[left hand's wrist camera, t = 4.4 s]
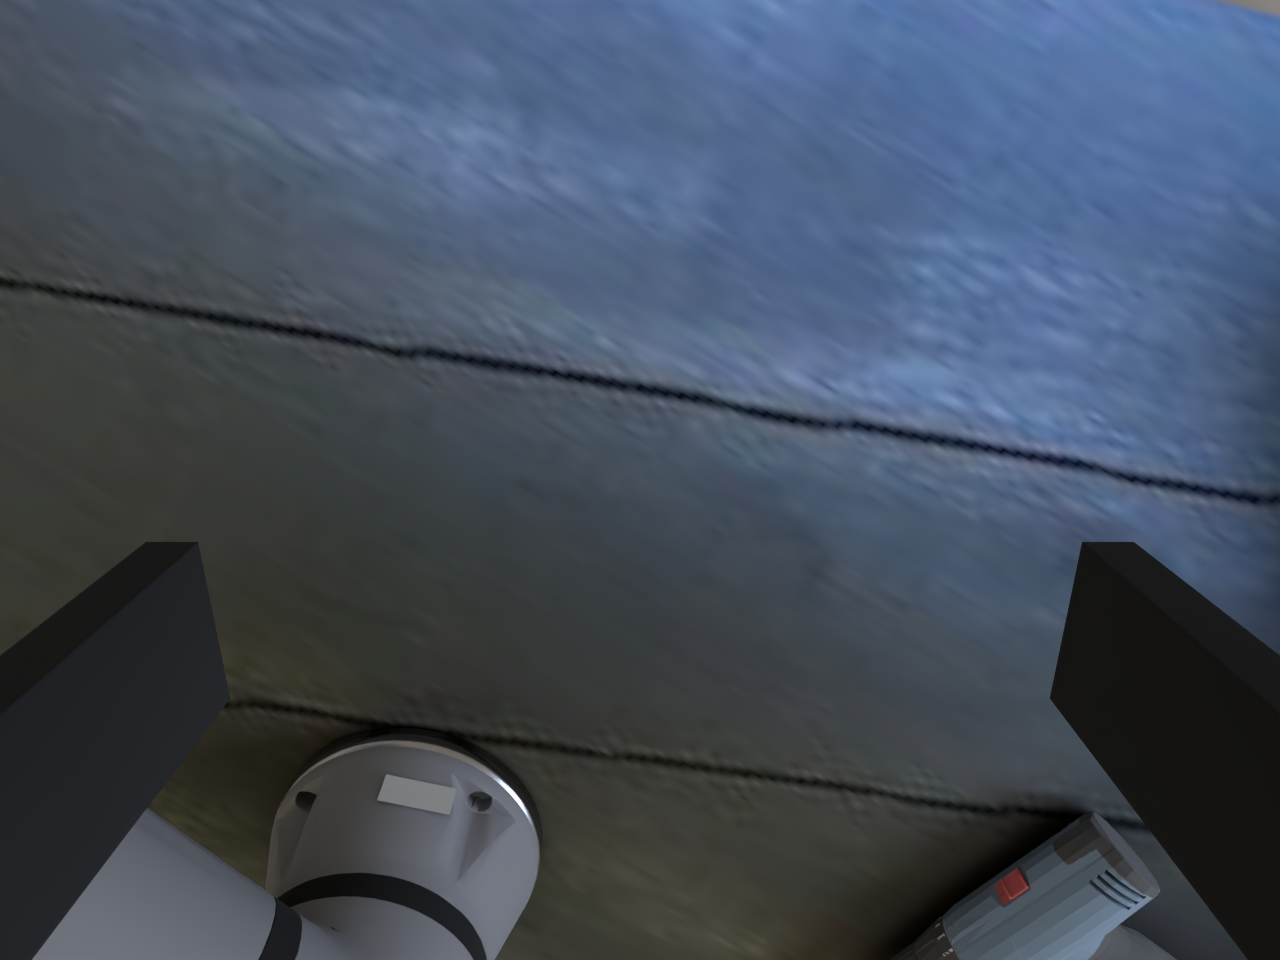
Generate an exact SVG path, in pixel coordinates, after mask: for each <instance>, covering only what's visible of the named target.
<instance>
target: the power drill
mask: <svg viewBox="0 0 1280 960" xmlns="http://www.w3.org/2000/svg"><path fill="white" fill-rule="evenodd" d="M1159 892H1160V888H1159V885H1158V883H1157V882H1156V880H1155V878H1154V877H1153V876H1152V874H1151V873H1150V872H1149V870H1148V869H1147V867H1146V866H1145V864H1144V863H1143V862H1142V861H1141V859H1140V858H1139V857H1138V856H1137V854H1136V853H1135V852H1134V851H1133V850H1132V849H1131V847H1130V846H1129V845H1128V844H1127V843H1126V842H1125V840H1124V839H1123V838H1122V837H1121V836H1120V835H1119V834H1118V833H1117V832H1116V831H1115V830H1114V829H1113V828H1112V827H1111V826H1110V825H1109V824H1108V822H1106V821H1105V820H1104V819H1103V818H1102V817H1101V816H1099V815H1098V814H1097V813H1096V812H1094V811H1090V812H1088V813H1086V814H1084V815H1082V816H1081V817H1079V818H1078V819H1077V820H1075V821H1074V822H1073V823H1071V824H1069V825H1068V826H1067V827H1066V828H1064V829H1062V830H1061V832H1059V833H1057V834H1055V835H1054V836H1052V837H1051V838H1050V839H1048V840H1047V841H1045V842H1044V843H1042V844H1041V845H1039V846H1038V847H1037V848H1035V849H1034V850H1032V851H1031V852H1029V853H1028V854H1027V855H1025V856H1024V857H1022V858H1021V859H1019V860H1018V861H1016V862H1015V863H1014V864H1012V865H1011V866H1009V867H1008V868H1006V869H1005V870H1003V871H1002V872H1001V873H999V874H998V875H996V876H995V877H993V878H992V879H991V880H989V881H988V882H986V883H985V884H983V885H982V886H980V887H979V888H978V889H976V890H975V891H973V892H972V893H970V894H969V895H967V896H966V897H965V898H963V899H962V900H960V901H959V902H957V903H956V904H955V905H953V906H952V907H951V908H950V909H949V910H948V911H947V912H946V913H945V914H944V915H943V916H942V917H940V918H939V919H937V920H936V921H935V922H934V923H933V924H932V925H931V926H930V927H929V928H928V929H927V930H926V931H925V932H924V933H923V934H922V935H921V936H920V937H919V938H918V939H917V940H916V941H915V942H914V943H912V944H911V945H909V946H908V947H906V948H905V949H904V950H902V951H901V952H899V953H898V954H896V955H893V957H892V958H891V959H890V960H1177V959H1175V958H1174V957H1173V956H1171V955H1170V954H1169V953H1167V952H1166V951H1164V950H1163V949H1162V948H1160V947H1159V946H1157V945H1156V944H1155V943H1153V942H1152V941H1150V940H1149V939H1148V938H1146V937H1145V936H1143V935H1142V934H1141V933H1139V932H1137V931H1136V930H1134V929H1131V928H1129V927H1126V926H1123V925H1121V924H1120V923H1122V922H1123V921H1124V920H1125V919H1127V918H1128V917H1129V916H1131V915H1132V914H1133V913H1135V912H1136V911H1137V910H1139V909H1140V908H1142V907H1143V906H1144V905H1146V904H1147V903H1148V902H1150V901H1151V900H1152V899H1154V898H1155V897H1156V896H1157V895H1158V894H1159Z"/></svg>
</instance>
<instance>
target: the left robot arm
mask: <svg viewBox="0 0 1280 960" xmlns="http://www.w3.org/2000/svg"><path fill="white" fill-rule="evenodd" d="M229 699H230V696H229V691H228V686H227V681H226V676H225V671H224V666H223V662H222V657H221V652H220V647H219V642H218V637H217V633H216V628H215V623H214V618H213V613H212V608H211V604H210V599H209V594H208V589H207V584H206V579H205V575H204V570H203V565H202V560H201V555H200V550H199V545H198V542H146V543H144V544H143V545H142V546H141V547H139V548H138V549H137V550H135V551H134V552H133V553H132V554H130V555H129V556H128V557H126V558H125V559H124V560H123V561H121V562H120V563H119V564H117V565H116V566H115V567H114V568H112V569H111V570H110V571H108V572H107V573H106V574H105V575H103V576H102V577H101V578H99V579H98V580H97V581H96V582H94V583H93V584H92V585H90V586H89V587H88V588H87V589H85V590H84V591H83V592H81V593H80V594H79V595H78V596H76V597H75V598H74V599H73V600H71V601H70V602H69V603H67V604H66V605H65V606H64V607H62V608H61V609H60V610H58V611H57V612H56V613H55V614H53V615H52V616H51V617H49V618H48V619H47V620H46V621H44V622H43V623H42V624H40V625H39V626H38V627H37V628H35V629H34V630H33V631H31V632H30V633H29V634H28V635H26V636H25V637H24V638H22V639H21V640H20V641H19V642H17V643H16V644H15V645H13V646H12V647H11V648H10V649H8V650H7V651H6V652H4V653H3V654H2V655H1V656H0V960H495V958H496V956H497V955H498V953H499V951H500V949H501V948H502V946H503V944H504V942H505V941H506V939H507V937H508V935H509V934H510V932H511V930H512V928H513V927H514V925H515V923H516V922H517V920H518V918H519V916H520V915H521V913H522V911H523V909H524V908H525V906H526V904H527V902H528V900H529V898H530V895H531V893H532V891H533V888H534V886H535V883H536V880H537V876H538V870H539V863H540V856H541V849H542V828H541V822H540V818H539V814H538V812H537V809H536V806H535V804H534V802H533V800H532V798H531V796H530V794H529V793H528V791H527V790H526V788H525V787H524V785H523V784H522V783H521V781H520V780H519V779H518V778H517V777H516V775H515V774H514V773H513V772H512V771H511V770H510V769H509V768H507V767H506V766H505V765H504V764H503V763H502V762H500V761H499V760H498V759H496V758H495V757H494V756H492V755H491V754H489V753H488V752H486V751H484V750H482V749H481V748H479V747H477V746H475V745H473V744H471V743H469V742H467V741H464V740H462V739H459V738H456V737H454V736H450V735H447V734H443V733H440V732H435V731H430V730H423V729H415V728H385V729H377V730H371V731H366V732H362V733H358V734H355V735H352V736H349V737H346V738H344V739H342V740H339V741H337V742H335V743H333V744H331V745H329V746H328V747H326V748H325V749H323V750H322V751H320V752H319V753H317V754H316V755H315V756H314V757H313V758H311V759H310V760H309V761H308V762H307V763H306V764H305V765H304V766H303V768H302V769H301V770H300V771H299V773H298V774H297V775H296V777H295V779H294V780H293V782H292V784H291V786H290V788H289V789H288V791H287V793H286V795H285V797H284V798H283V800H282V802H281V804H280V806H279V808H278V811H277V813H276V817H275V821H274V825H273V829H272V833H271V840H270V849H269V858H268V867H267V876H266V885H265V889H263V888H262V887H260V886H259V885H257V884H256V883H255V882H253V881H252V880H250V879H249V878H247V877H246V876H244V875H243V874H242V873H240V872H239V871H237V870H236V869H234V868H233V867H232V866H230V865H229V864H227V863H226V862H224V861H223V860H222V859H220V858H219V857H217V856H216V855H214V854H213V853H212V852H210V851H209V850H207V849H206V848H204V847H203V846H202V845H200V844H199V843H197V842H196V841H194V840H193V839H191V838H190V837H189V836H187V835H186V834H184V833H183V832H181V831H180V830H179V829H177V828H176V827H174V826H173V825H171V824H170V823H169V822H167V821H166V820H164V819H163V818H161V817H160V816H159V815H157V814H156V813H154V812H153V811H151V810H150V809H149V808H147V807H148V806H149V805H150V803H151V802H152V801H153V799H154V798H155V797H156V796H157V794H158V793H159V792H160V790H161V789H162V788H163V786H164V785H165V784H166V782H167V781H168V780H169V778H170V777H171V776H172V774H173V773H174V772H175V770H176V769H177V768H178V766H179V765H180V764H181V763H182V761H183V760H184V759H185V757H186V756H187V755H188V753H189V752H190V751H191V749H192V748H193V747H194V745H195V744H196V743H197V741H198V740H199V739H200V737H201V736H202V735H203V733H204V732H205V731H206V730H207V728H208V727H209V726H210V724H211V723H212V722H213V720H214V719H215V718H216V716H217V715H218V714H219V712H220V711H221V710H222V708H223V707H224V706H225V704H226V703H227V702H228V701H229ZM1050 699H1051V701H1052V702H1053V703H1054V704H1055V706H1056V707H1057V708H1058V710H1059V711H1060V712H1061V714H1062V715H1063V716H1064V718H1065V719H1066V720H1067V722H1068V723H1069V724H1070V726H1071V727H1072V728H1073V730H1074V731H1075V732H1076V734H1077V735H1078V736H1079V737H1080V739H1081V740H1082V741H1083V743H1084V744H1085V745H1086V747H1087V748H1088V749H1089V751H1090V752H1091V753H1092V755H1093V756H1094V757H1095V759H1096V760H1097V761H1098V763H1099V764H1100V765H1101V766H1102V768H1103V769H1104V770H1105V772H1106V773H1107V774H1108V776H1109V777H1110V778H1111V780H1112V781H1113V782H1114V784H1115V785H1116V786H1117V788H1118V789H1119V790H1120V792H1121V793H1122V794H1123V796H1124V797H1125V798H1126V799H1127V801H1128V802H1129V803H1130V805H1131V806H1132V807H1133V809H1134V810H1135V811H1136V813H1137V814H1138V815H1139V817H1140V818H1141V819H1142V821H1143V822H1144V823H1145V825H1146V826H1147V827H1148V829H1149V830H1150V831H1151V832H1152V834H1153V835H1154V836H1155V838H1156V839H1157V840H1158V842H1159V843H1160V844H1161V846H1162V847H1163V848H1164V850H1165V851H1166V852H1167V854H1168V855H1169V856H1170V858H1171V859H1172V860H1173V861H1174V863H1175V864H1176V865H1177V867H1178V868H1179V869H1180V871H1181V872H1182V873H1183V875H1184V876H1185V877H1186V879H1187V880H1188V881H1189V883H1190V884H1191V885H1192V887H1193V888H1194V889H1195V891H1196V892H1197V893H1198V894H1199V896H1200V897H1201V898H1202V900H1203V901H1204V902H1205V904H1206V905H1207V906H1208V908H1209V909H1210V910H1211V912H1212V913H1213V914H1214V916H1215V917H1216V918H1217V920H1218V921H1219V922H1220V924H1221V925H1222V926H1223V927H1224V929H1225V930H1226V931H1227V933H1228V934H1229V935H1230V937H1231V938H1232V939H1233V941H1234V942H1235V943H1236V945H1237V946H1238V947H1239V949H1240V950H1241V951H1242V953H1243V954H1244V955H1245V956H1246V958H1247V959H1248V960H1280V656H1279V655H1278V654H1277V653H1276V652H1274V651H1273V650H1272V649H1270V648H1269V647H1268V646H1267V645H1265V644H1264V643H1263V642H1261V641H1260V640H1259V639H1258V638H1256V637H1255V636H1254V635H1252V634H1251V633H1250V632H1249V631H1247V630H1246V629H1245V628H1243V627H1242V626H1241V625H1240V624H1238V623H1237V622H1236V621H1234V620H1233V619H1232V618H1231V617H1229V616H1228V615H1227V614H1225V613H1224V612H1223V611H1222V610H1220V609H1219V608H1218V607H1216V606H1215V605H1214V604H1213V603H1211V602H1210V601H1209V600H1207V599H1206V598H1205V597H1204V596H1202V595H1201V594H1200V593H1199V592H1197V591H1196V590H1195V589H1193V588H1192V587H1191V586H1190V585H1188V584H1187V583H1186V582H1184V581H1183V580H1182V579H1181V578H1179V577H1178V576H1177V575H1175V574H1174V573H1173V572H1172V571H1170V570H1169V569H1168V568H1166V567H1165V566H1164V565H1163V564H1161V563H1160V562H1159V561H1157V560H1156V559H1155V558H1154V557H1152V556H1151V555H1150V554H1148V553H1147V552H1146V551H1145V550H1143V549H1142V548H1141V547H1139V546H1138V545H1137V544H1136V543H1134V542H1082V545H1081V550H1080V555H1079V560H1078V565H1077V570H1076V575H1075V579H1074V584H1073V589H1072V594H1071V599H1070V604H1069V608H1068V613H1067V618H1066V623H1065V628H1064V633H1063V637H1062V642H1061V647H1060V652H1059V657H1058V662H1057V666H1056V671H1055V676H1054V681H1053V686H1052V691H1051V696H1050Z"/></svg>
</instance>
